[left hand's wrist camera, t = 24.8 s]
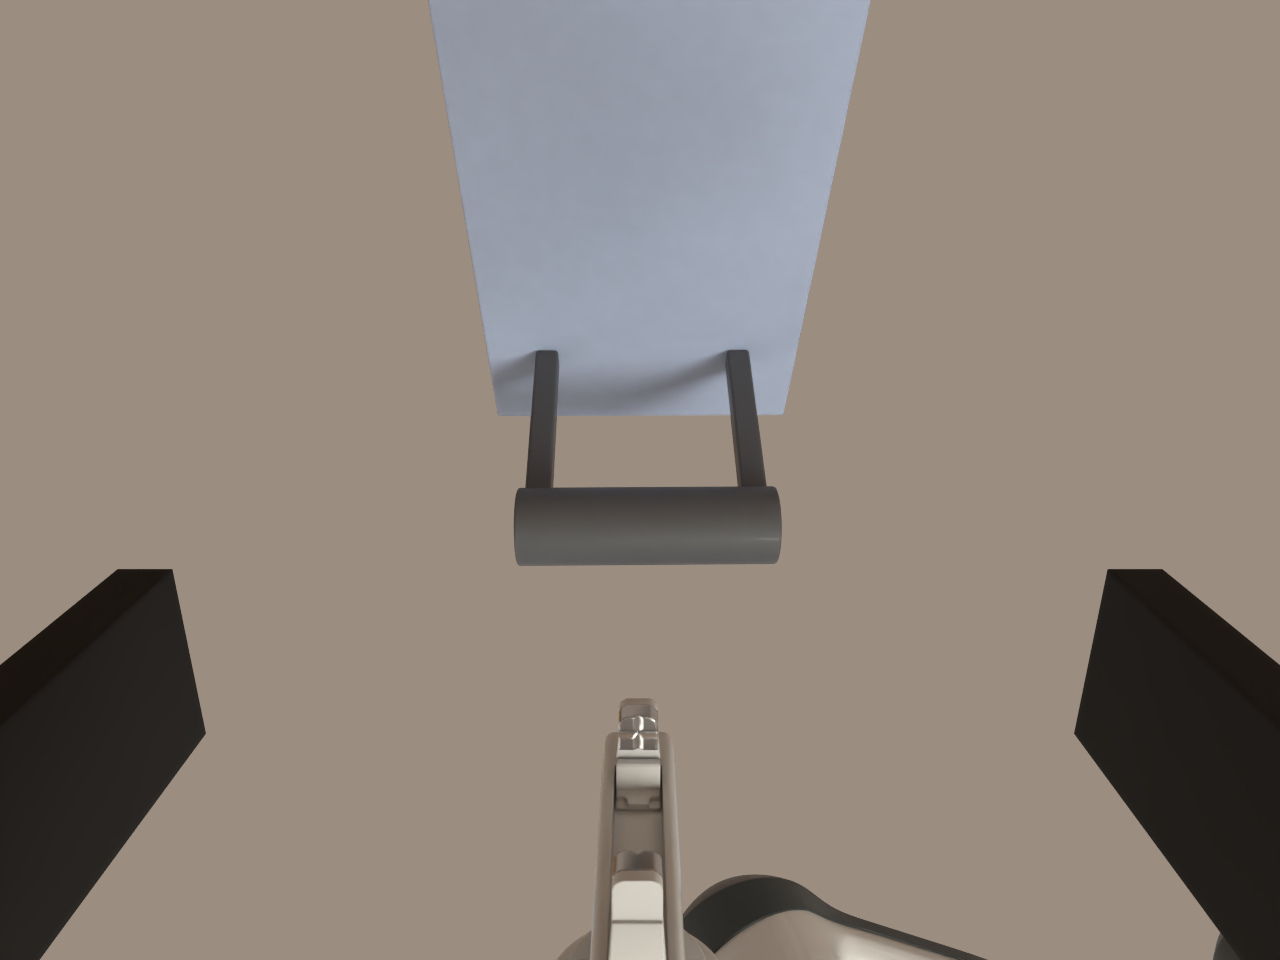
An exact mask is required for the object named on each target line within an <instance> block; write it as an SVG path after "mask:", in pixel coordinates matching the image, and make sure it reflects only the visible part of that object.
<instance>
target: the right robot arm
mask: <svg viewBox="0 0 1280 960" xmlns="http://www.w3.org/2000/svg"><path fill="white" fill-rule="evenodd" d="M557 960H986V959H984V958H981V957H978V956H975V955H972V954H969V953H966V952H963V951H960V950H957V949H954V948H951V947H948V946H945V945H942V944H938V943H935V942H932V941H929V940H926V939H923V938H920V937H916V936H913V935H910V934H907V933H904V932H901V931H897V930H894V929H891V928H888V927H885V926H882V925H878V924H875V923H872V922H869V921H866V920H863V919H860V918H857V917H854V916H851V915H848V914H846V913H843V912H841V911H839V910H837V909H835V908H833V907H831V906H830V905H828V904H827V903H825V902H824V901H822V900H821V899H820V898H818V897H817V896H816V895H814V894H813V893H812V892H810V891H809V890H808V889H806V888H805V887H803V886H801V885H799V884H797V883H795V882H793V881H790V880H787V879H783V878H780V877H775V876H768V875H742V876H737V877H732V878H729V879H726V880H723V881H721V882H718V883H716V884H715V885H713V886H711V887H710V888H708V889H707V890H705V891H704V892H703V893H702V894H701V895H699V896H698V897H697V898H696V899H695V900H694V901H693V902H692V904H691V905H690V906H689V907H688V908H687V909H686V911H685V912H684V914H683V910H682V891H681V872H680V854H679V835H678V816H677V798H676V779H675V760H674V748H673V742H672V739H671V737H670V735H668V734H667V733H665V732H658V705H657V703H656V702H655V701H654V700H652V699H648V698H647V699H625V700H623V701H621V703H620V705H619V732H612V733H610V734H609V735H608V736H607V737H606V739H605V743H604V749H603V760H602V776H601V792H600V808H599V823H598V840H597V855H596V871H595V887H594V902H593V918H592V930H591V931H589V932H588V933H587V934H586V935H584V936H582V937H580V938H579V939H578V940H576V941H575V942H574V943H572V944H571V945H570V946H569V947H568V948H567V949H566V950H565V951H564V952H563V953H562V954H561V955H560V956H559V958H558V959H557ZM1213 960H1240V958H1239V957H1238V956H1237V954H1236V953H1235V952H1234V950H1233V949H1232V948H1231V946H1230V945H1229V943H1228V942H1227V941H1226V939H1225V938H1224V937H1223V935H1222V934H1221V933H1220V935H1219V937H1218V940H1217V944H1216V948H1215V953H1214V957H1213Z"/></svg>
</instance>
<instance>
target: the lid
mask: <svg viewBox="0 0 1280 960" xmlns="http://www.w3.org/2000/svg"><path fill="white" fill-rule="evenodd" d="M870 1H871V0H428V4H429V10H430V16H431V22H432V28H433V33H434V39H435V45H436V51H437V57H438V63H439V69H440V75H441V81H442V87H443V92H444V98H445V105H446V110H447V116H448V122H449V128H450V134H451V140H452V146H453V152H454V158H455V164H456V170H457V176H458V181H459V187H460V193H461V199H462V205H463V211H464V217H465V223H466V229H467V235H468V241H469V247H470V252H471V259H472V264H473V270H474V276H475V282H476V288H477V294H478V300H479V306H480V312H481V318H482V324H483V330H484V336H485V341H486V347H487V353H488V359H489V365H490V371H491V377H492V383H493V389H494V395H495V401H496V407H497V413H498V415H499V416H531V422H530V435H529V448H528V461H527V475H526V488H519V489H518V490H517V493H516V498H515V508H514V546H515V556H516V561H517V564H518V565H520V566H553V565H554V566H556V565H684V564H685V565H686V564H775V563H776V562H777V561H778V558H779V554H780V548H781V534H782V521H781V507H780V500H779V495H778V492H777V490H776V488H775V487H773V486H766V479H765V471H764V463H763V455H762V448H761V440H760V432H759V425H758V417H757V415H782V414H783V413H784V409H785V404H786V400H787V395H788V390H789V385H790V381H791V376H792V371H793V366H794V362H795V357H796V352H797V347H798V343H799V338H800V333H801V328H802V324H803V319H804V314H805V309H806V305H807V300H808V295H809V290H810V286H811V281H812V276H813V271H814V267H815V262H816V257H817V252H818V248H819V243H820V238H821V233H822V229H823V224H824V219H825V214H826V210H827V205H828V200H829V195H830V191H831V186H832V181H833V176H834V172H835V167H836V162H837V157H838V153H839V148H840V143H841V138H842V134H843V129H844V124H845V119H846V115H847V110H848V105H849V100H850V96H851V91H852V86H853V81H854V77H855V72H856V67H857V62H858V58H859V53H860V48H861V43H862V39H863V34H864V29H865V24H866V20H867V15H868V10H869V5H870ZM602 415H603V416H606V415H607V416H608V415H730V416H731V425H732V435H733V444H734V453H735V463H736V472H737V482H738V487H595V488H553V478H554V459H555V440H556V421H557V416H602Z"/></svg>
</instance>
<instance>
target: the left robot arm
mask: <svg viewBox="0 0 1280 960" xmlns="http://www.w3.org/2000/svg"><path fill="white" fill-rule="evenodd" d="M205 734H206V732H205V727H204V722H203V718H202V713H201V708H200V703H199V698H198V693H197V688H196V683H195V678H194V673H193V668H192V664H191V659H190V654H189V649H188V644H187V639H186V634H185V629H184V624H183V620H182V614H181V610H180V605H179V600H178V595H177V590H176V585H175V580H174V575H173V570H172V569H117V570H116V571H115V572H114V573H113V574H111V575H110V576H109V577H108V578H106V579H105V580H104V581H103V582H101V583H100V584H99V585H98V586H97V587H95V588H94V589H93V590H92V591H90V592H89V593H88V594H87V595H86V596H84V597H83V598H82V599H81V600H79V601H78V602H77V603H76V604H75V605H73V606H72V607H71V608H70V609H68V610H67V611H66V612H65V613H63V614H62V615H61V616H60V617H59V618H57V619H56V620H55V621H54V622H53V623H51V624H50V625H49V626H48V627H46V628H45V629H44V630H43V631H41V632H40V633H39V634H38V635H37V636H35V637H34V638H33V639H32V640H30V641H29V642H28V643H27V644H25V645H24V646H23V647H22V648H21V649H19V650H18V651H17V652H16V653H14V654H13V655H12V656H11V657H10V658H8V659H7V660H6V661H5V662H3V663H2V664H1V665H0V960H40V958H41V957H42V956H43V954H44V953H45V952H46V950H47V949H48V948H49V946H50V945H51V943H52V942H53V941H54V939H55V938H56V937H57V935H58V934H59V932H60V931H61V930H62V928H63V927H64V926H65V924H66V923H67V922H68V920H69V919H70V918H71V916H72V915H73V913H74V912H75V911H76V909H77V908H78V907H79V905H80V904H81V903H82V901H83V900H84V899H85V897H86V896H87V894H88V893H89V892H90V890H91V889H92V888H93V886H94V885H95V884H96V882H97V881H98V880H99V878H100V877H101V875H102V874H103V873H104V871H105V870H106V869H107V867H108V866H109V865H110V863H111V862H112V860H113V859H114V858H115V856H116V855H117V854H118V852H119V851H120V850H121V848H122V847H123V845H124V844H125V843H126V841H127V840H128V839H129V837H130V836H131V835H132V833H133V832H134V831H135V829H136V828H137V826H138V825H139V824H140V822H141V821H142V820H143V818H144V817H145V816H146V814H147V813H148V812H149V810H150V809H151V807H152V806H153V805H154V803H155V802H156V801H157V799H158V798H159V797H160V795H161V794H162V792H163V791H164V790H165V788H166V787H167V786H168V784H169V783H170V782H171V780H172V779H173V777H174V776H175V775H176V773H177V772H178V771H179V769H180V768H181V767H182V765H183V764H184V763H185V761H186V760H187V758H188V757H189V756H190V754H191V753H192V752H193V750H194V749H195V748H196V746H197V745H198V743H199V742H200V741H201V739H202V738H203V737H204V735H205ZM1074 734H1075V735H1076V737H1077V738H1078V739H1079V741H1080V742H1081V744H1082V745H1083V746H1084V748H1085V749H1086V750H1087V752H1088V753H1089V754H1090V756H1091V757H1092V759H1093V760H1094V761H1095V763H1096V764H1097V765H1098V767H1099V768H1100V769H1101V771H1102V772H1103V773H1104V775H1105V776H1106V778H1107V779H1108V780H1109V782H1110V783H1111V784H1112V786H1113V787H1114V788H1115V790H1116V791H1117V792H1118V794H1119V795H1120V797H1121V798H1122V799H1123V801H1124V802H1125V803H1126V805H1127V806H1128V807H1129V809H1130V810H1131V812H1132V813H1133V814H1134V816H1135V817H1136V818H1137V820H1138V821H1139V822H1140V824H1141V825H1142V826H1143V828H1144V829H1145V831H1146V832H1147V833H1148V835H1149V836H1150V837H1151V839H1152V840H1153V841H1154V843H1155V844H1156V845H1157V847H1158V848H1159V850H1160V851H1161V852H1162V854H1163V855H1164V856H1165V858H1166V859H1167V860H1168V862H1169V863H1170V865H1171V866H1172V867H1173V869H1174V870H1175V871H1176V873H1177V874H1178V875H1179V877H1180V878H1181V880H1182V881H1183V882H1184V884H1185V885H1186V886H1187V888H1188V889H1189V890H1190V892H1191V893H1192V894H1193V896H1194V897H1195V898H1196V900H1197V901H1198V903H1199V904H1200V905H1201V907H1202V908H1203V909H1204V911H1205V912H1206V914H1207V915H1208V916H1209V918H1210V919H1211V920H1212V922H1213V923H1214V924H1215V926H1216V927H1217V928H1218V930H1219V931H1220V933H1221V934H1222V935H1223V937H1224V938H1225V939H1226V941H1227V942H1228V943H1229V945H1230V946H1231V948H1232V949H1233V950H1234V952H1235V953H1236V954H1237V956H1238V957H1239V958H1240V960H1280V665H1279V664H1278V663H1277V662H1275V661H1274V660H1273V659H1272V658H1270V657H1269V656H1268V655H1267V654H1266V653H1264V652H1263V651H1262V650H1261V649H1259V648H1258V647H1257V646H1256V645H1254V644H1253V643H1252V642H1251V641H1250V640H1248V639H1247V638H1246V637H1245V636H1243V635H1242V634H1241V633H1240V632H1239V631H1237V630H1236V629H1235V628H1234V627H1232V626H1231V625H1230V624H1229V623H1227V622H1226V621H1225V620H1224V619H1223V618H1221V617H1220V616H1219V615H1218V614H1217V613H1215V612H1214V611H1213V610H1212V609H1210V608H1209V607H1208V606H1207V605H1205V604H1204V603H1203V602H1202V601H1201V600H1199V599H1198V598H1197V597H1196V596H1194V595H1193V594H1192V593H1191V592H1190V591H1188V590H1187V589H1186V588H1185V587H1183V586H1182V585H1181V584H1180V583H1179V582H1177V581H1176V580H1175V579H1174V578H1172V577H1171V576H1170V575H1169V574H1167V573H1166V572H1165V571H1164V570H1163V569H1108V570H1107V575H1106V580H1105V585H1104V590H1103V595H1102V600H1101V605H1100V610H1099V615H1098V620H1097V624H1096V629H1095V634H1094V639H1093V644H1092V649H1091V654H1090V659H1089V664H1088V668H1087V673H1086V678H1085V683H1084V688H1083V693H1082V698H1081V703H1080V708H1079V713H1078V718H1077V722H1076V727H1075V732H1074Z"/></svg>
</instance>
